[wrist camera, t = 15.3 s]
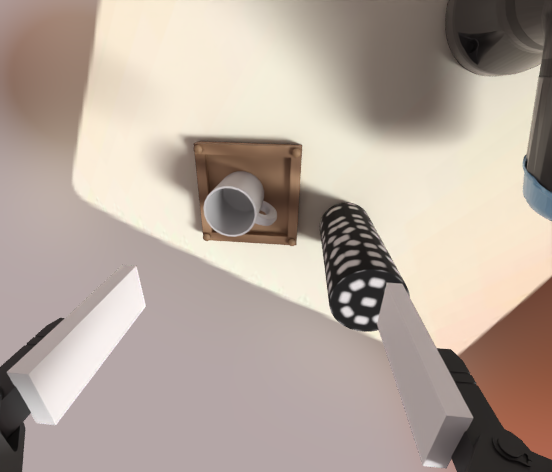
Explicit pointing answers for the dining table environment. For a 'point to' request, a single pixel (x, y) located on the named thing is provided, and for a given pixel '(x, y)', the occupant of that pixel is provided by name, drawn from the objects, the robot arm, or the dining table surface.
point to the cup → (238, 205)
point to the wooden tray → (272, 174)
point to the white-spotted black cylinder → (355, 266)
